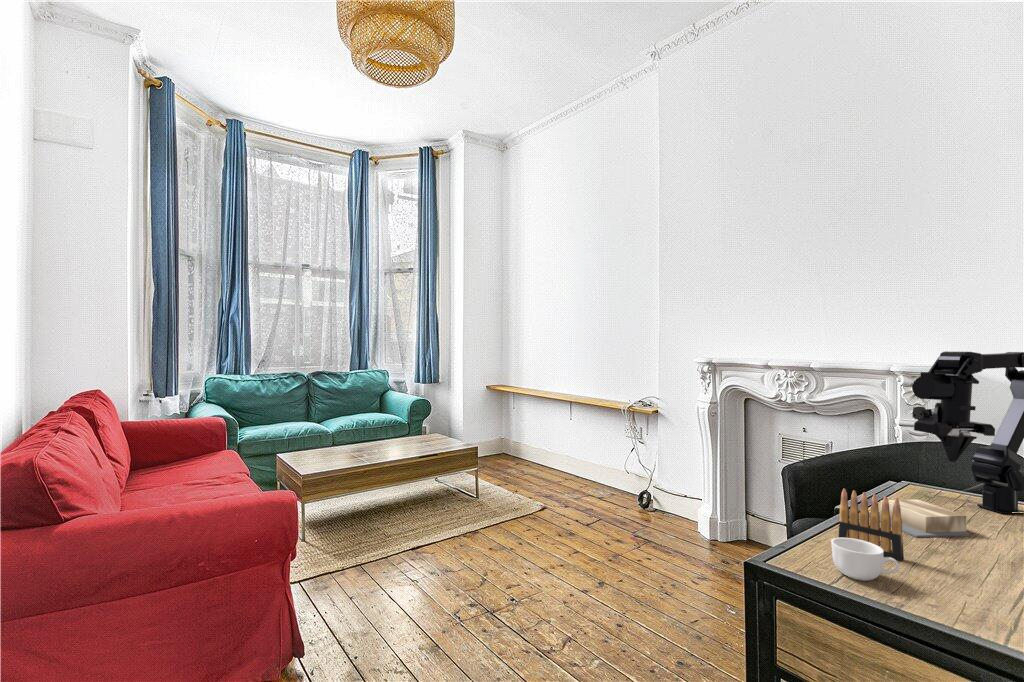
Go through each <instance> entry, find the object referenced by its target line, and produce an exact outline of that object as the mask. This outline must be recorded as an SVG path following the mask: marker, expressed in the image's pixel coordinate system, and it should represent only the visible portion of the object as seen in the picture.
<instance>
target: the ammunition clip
mask: <svg viewBox="0 0 1024 682" xmlns="http://www.w3.org/2000/svg"><path fill="white" fill-rule="evenodd" d="M877 496H878V495H876V493H874V494H873V495H872V498H871V502H870V504H871V505H870V511H869V503H868V502H869V501H868V500H869V499H868V495H867V494H866V492H865V491H864V492H862V495H861V498H860V510H859V502H858V494H857V491H856V490H855V489H854V490H852V493H851V496H850V506H849V501H848V500H849V498H848V492H847V489H846V488H843V489H842V491H841V495H840V506H839V522H838V523H839V524H838V537H837V538H853V539H858V540H863V541H866V542H870V543H873V544H875V545H877V546H879V547H881V548H882V549H883V551H884V553H883V557H891V558H893V559H895V560H896V561H897V562H900V563H902V562H903V561H904V560H905V556H904V541H903V532H902V519H901V508H900V503H899V500H900V499H899V498H898V497H896V498H895V499H894V500H895V501H894V505H893V516H892V527H891V518H890V511H889V502H888V500H889V499H888V497H887V495H885V496H884V497H883V499H882V500H883V502H882V514H881V522H880V516H879V512H880V510H879V509H880V508H879V500H878V497H877ZM869 513H870V518H869Z"/></svg>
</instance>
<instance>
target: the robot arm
mask: <svg viewBox="0 0 1024 682" xmlns="http://www.w3.org/2000/svg"><path fill="white" fill-rule="evenodd" d="M1017 368H1021V369H1022V368H1024V352H1023V351H1007V352H1003V353H1001V352H999V353H998V352H997V353H983V354H982V353H981V352H973V351H947V350H946V351H941V353H940V354H939V356H938V357H937V359H936V360H935V361H934V363H933V364H932V365H931V367H930V369H929V370H928V371H921V372H920V376H919V377H917V378H916V379H915V380H914V381H913V384H911V391H912V393H913V395H914V396H916V397H917V398H918V399H921V400H933V401H934V400H937V401H940V402H936V403H935V405H934V408H925V407H924V406H913V409H912V418H914V420H916V421H914V423H913V431H916V432H921V433H926V434H927V433H928V434H932V435H935V436H936V437H937V438H938V439H939V440H940V441H941V444H942V446H943V449H944V453H945V454H946V457H947V460H948V461H949V462H952V463H956V462H957V461H958V459H959V458H960V457H961V455H962V454H963V453H964V452H965V450H966V449H967V448H968V447H969V446H970V444H971V443H972V442H973V441H974V440H976V439H977V438H978V437H977V436H973V435H972V433H976V434H981V435H984V436H985V437H986V436H988V437H994V438H993V439H992V442H991V444H989V445H988V446H980V445H979V446H978V447H977V448H976V450H975V453H974V455H973V456H972V458H971V460H972V461H971V464H970V468H971V472H972V475H973V478H974V481H975V483H980V484H983V488H982V489H983V490H982V501H981V502H982V503H977V505H976V506H977V507H978V508H979V507H980V508H982V509H986V510H989V511H992V512H995V511H996V513H998V512H1000V513H999V514H1002V513H1012V512H1024V510H1021V509H1019V492H1024V475H1023V474H1022V472H1021V471H1020V469H1021V462H1020V459H1019V457H1018V452H1019V450H1020V447H1021V445H1022V443H1023V441H1024V369H1022V370H1018V369H1017ZM987 369H991V370H992V369H1005V371H1004V372H1005V374H1004V376H1005V378H1006V379H1007V380H1008V381H1009V382H1010V385H1009V389H1010V391H1011V394H1012V400H1011V402H1010V404H1009V406H1008V409H1006V412H1005V414H1004V417H1003V418H1002V421H1001V423H1000V425H999V427H998V429H997V431H996V428H995V427H994V426H993V425H992V424H990V423H985V422H984V423H983V422H978V421H971V411H976V406H974V405H972V395H973V394H972V393H973V384H975V385H979V384H980V381H979V379H977V378H975V376H974V375H973V374H978V373H981V372H982V371H984V370H987Z"/></svg>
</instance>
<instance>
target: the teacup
mask: <svg viewBox="0 0 1024 682" xmlns="http://www.w3.org/2000/svg"><path fill="white" fill-rule="evenodd" d="M830 544H831V555H832V561H833V563H834V565H835V567H836V568H837V570H838V571H839V572H840V573H842V575H844V576H845V575H846V576H845V577H847V576H848V578H850V579H853V580H856V581H864V582H867V581H872V580H875V579H877V578H878V577H879V576H880V575H884V574H886V575H887V574H888V575H889V574H894V573H897V572H898V571H899V570H900V564H899V561H896V560H895V559H893V558H891V557H883V553H884V551H883V549H882V548H881V546H880V547H879V546H877V545H875V544H873V543H870V541H869V542H866V541H863V540H858V539H853V538H838V537H835V538H831V540H830ZM890 561H891V562H893V563H894V564H895V568H894V569H891V570H888V569H884V568H883V567H884V565H885V564H886V563H887V562H890Z"/></svg>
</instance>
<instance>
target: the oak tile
mask: <svg viewBox="0 0 1024 682" xmlns="http://www.w3.org/2000/svg"><path fill="white" fill-rule="evenodd" d="M898 500H899V503H900V508H901V519H902V523H903V524H906V525H908V526H911V527H913V528H916V529H918V530H921V531H923V532H926V533H929V532H967V515H964V514H963V513H959V512H956V511H953V510H950V509H947V508H944V507H942V506H938V505H935V504H933V503H931V502H930V503H929V502H927V501H924V500H921V499H898ZM894 501H895V499H888V502H889V511H890V518H891V519H892V516H893V505H894ZM882 502H883V499H880V508H879V509H880V510H879V512H880V514H882Z"/></svg>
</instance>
